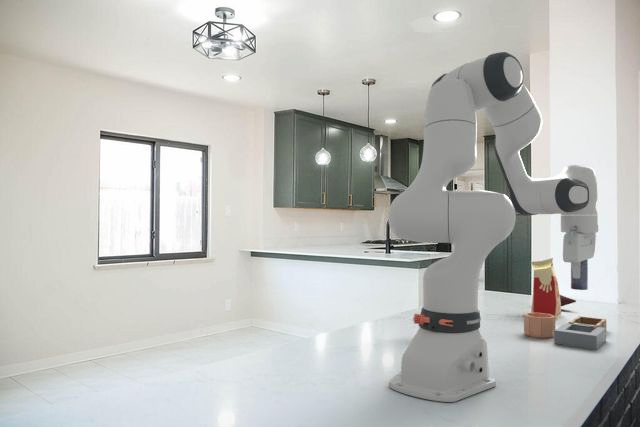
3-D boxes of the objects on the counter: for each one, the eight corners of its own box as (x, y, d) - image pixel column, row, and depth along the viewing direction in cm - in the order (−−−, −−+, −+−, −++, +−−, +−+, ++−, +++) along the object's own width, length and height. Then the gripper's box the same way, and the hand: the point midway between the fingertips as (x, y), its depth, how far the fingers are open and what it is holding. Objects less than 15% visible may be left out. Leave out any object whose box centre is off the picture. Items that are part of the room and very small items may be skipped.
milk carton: (561, 315, 170) (560, 257, 171) (557, 319, 163) (557, 259, 163) (532, 312, 175) (532, 256, 176) (528, 316, 168) (527, 258, 168)
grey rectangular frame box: (596, 349, 124) (596, 334, 124) (554, 343, 131) (554, 328, 131) (605, 340, 134) (605, 326, 134) (565, 335, 140) (565, 321, 140)
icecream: (580, 292, 179) (539, 292, 190) (571, 289, 174) (530, 289, 185) (580, 312, 177) (538, 310, 188) (571, 309, 173) (529, 307, 184)
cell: (585, 290, 130) (585, 257, 130) (569, 288, 132) (569, 257, 132) (589, 288, 133) (589, 256, 133) (572, 287, 135) (572, 256, 135)
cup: (550, 339, 135) (550, 319, 135) (521, 335, 140) (520, 315, 140) (557, 334, 141) (557, 314, 141) (529, 330, 146) (529, 311, 146)
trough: (598, 338, 136) (597, 326, 137) (568, 334, 141) (568, 322, 141) (606, 330, 146) (606, 319, 146) (578, 327, 151) (578, 316, 151)
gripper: (583, 226, 123) (583, 282, 123) (599, 225, 138) (599, 274, 138) (556, 226, 127) (556, 280, 127) (574, 225, 142) (575, 272, 142)
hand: (579, 277), depth 133 cm, fingers closed on cell, 4 cm apart
